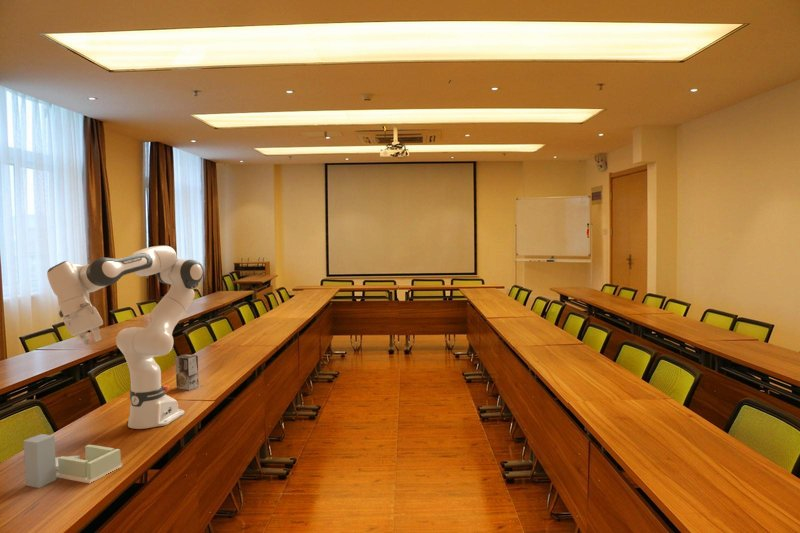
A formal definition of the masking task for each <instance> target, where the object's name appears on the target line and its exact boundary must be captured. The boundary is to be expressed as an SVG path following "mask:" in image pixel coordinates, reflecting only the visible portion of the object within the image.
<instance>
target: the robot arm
mask: <svg viewBox="0 0 800 533" xmlns="http://www.w3.org/2000/svg"><path fill="white" fill-rule="evenodd" d="M46 273H47V274H46V275H47V279H48V283H49V285H50V288H51V290H52V292H53V294H54V295H55V296H56V297H57V303H58V305H59V308H60V309H59V311H58V316H59V318H60V319H62V320H63V323H64V325H65V327H66V329H67V331H68V333H69V334H70V335H71V336H73V337H75V336H78V337H77V338H79V340H80V341H82V343H83V345H84V346H87V345H90V344H91V343H92V342H91V341H90V338H88V336H87V334H86V332H88V331H91V333H92V334H93V340H94V342H96V343H97V342H99V341H101V340H102V336H101V329H100V327H101V326H103V325H104V321H103V319H102V317H101V315H100V313H99V311H98V309H97V308H96V307H95V306H94V305H93V304H92V302H91V300H90V298H89V296H88V293H93V292H96V291H98V290H101V289H103V288H105V287H108V286H111V285H114V284H115V283H117V282H118V281H119V280H120V279H121V278H122V277H124V276H126V275H130V274H134V275H136V276H138V277H149V276H152V275H155V277H156V279H157V281H159V282H160V283H162V284H165V285H170V287H169V289H168V292H167V293H166V294H165V295H164V296H163V297H162V298H161V299H160V301H159V302H158V303H157V304H156V305H155V306H154V307H153V309H152V310H151V311H150V317H151V322H150V324H149V325H148V326H146V327H140V326H131V327H125V328H123V329H122V330H120V331H118V333H117V335H116V337H115V345H116V347H117V348H118V349H119V350H120V352H121V353H122V354H123V356H124V358H125V360H126V364H127V367H128V370H129V376H130V378H129V379H130V390H129V399H130V407H129V416H128V418H127V419H128V420H127V422H128V423H127V427H128V428H130V429H135V430H142V429H143V430H144V429H149V428H151V429H152V428H156V427H164V426H167V425H168V424H170V423H172V422H174V421H175V420H176V419H178V418H179V417H182V416H183V415H185V410H183V409H182V408H179V403H178V401H177V400H176V399H175V398H173V397H171V396H169V395H168V394H166V392H165V391H168V392H169V391H170V385H163V386H162V371H161V366H160V365H159V364H158V363H157V361H156V360H155V359H154V358H155V357H162V356H166V355H168V354H169V353H171V351H172V349H173V347H174V336H173V333H174V332H173V331H174V330H175V327H176V326H177V324H178V323H179V322H180V320H181V319H182V318H183V316H184V315H185V314H186V312H187V311H188V309H189V308H190V306H191V304H192V303H193V301H194V298H195V296H196V294H195V293H196V292H195V290H194V289H195V288H197V287H198V286H199V284H200V282H201V280H202V279H203V276H204V267H203V265H202V264H201V262H199V261H197V260H195V259H178V256H177V252H176V250H175V249H174V248H173V247H171V246H169V245H155V246H149V247H146V248H142V249H139V250H137V251H135V252H133V253H131V254H130V255H128V256H125V257H119V258H112V257H104V256H103V257H99V258H97V259H94V260H93V261H92V262H90V263H88V264H79V263H78V264H77V263H73V262H71V261H69V260H65V261H61V262H60V263H58V264H55V265H54V266H52V267H50V268H49V269H48V270H47V272H46Z"/></svg>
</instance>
